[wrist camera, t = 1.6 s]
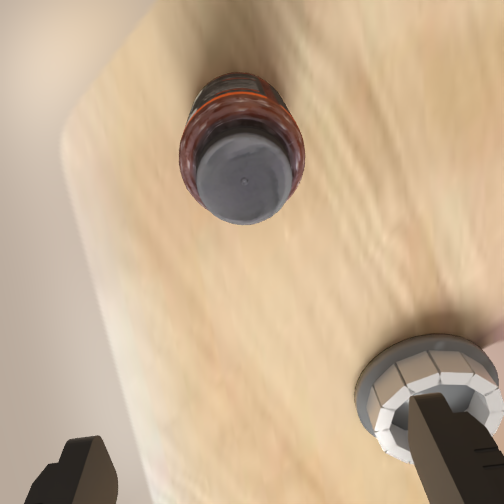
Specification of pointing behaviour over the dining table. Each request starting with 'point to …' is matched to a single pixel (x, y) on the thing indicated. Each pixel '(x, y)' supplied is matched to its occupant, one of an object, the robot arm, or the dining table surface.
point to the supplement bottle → (241, 149)
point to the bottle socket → (426, 386)
